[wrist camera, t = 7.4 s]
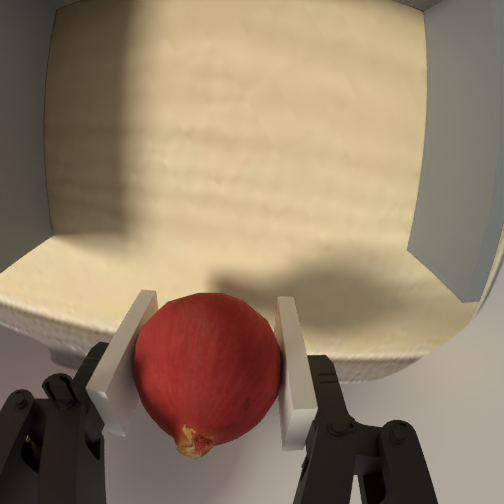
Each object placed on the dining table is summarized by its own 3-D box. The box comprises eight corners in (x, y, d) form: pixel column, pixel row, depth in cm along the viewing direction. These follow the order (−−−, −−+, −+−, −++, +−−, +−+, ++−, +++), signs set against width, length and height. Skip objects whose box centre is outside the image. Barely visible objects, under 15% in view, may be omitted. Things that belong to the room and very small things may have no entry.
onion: (273, 357, 15) (283, 491, 8) (170, 354, 16) (132, 479, 8) (277, 259, 13) (301, 408, 6) (152, 260, 13) (68, 387, 6)
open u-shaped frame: (40, 235, 15) (-20, 277, 10) (46, 0, 9) (-12, -23, 4) (422, 250, 16) (479, 301, 10) (437, 3, 10) (496, -25, 4)
